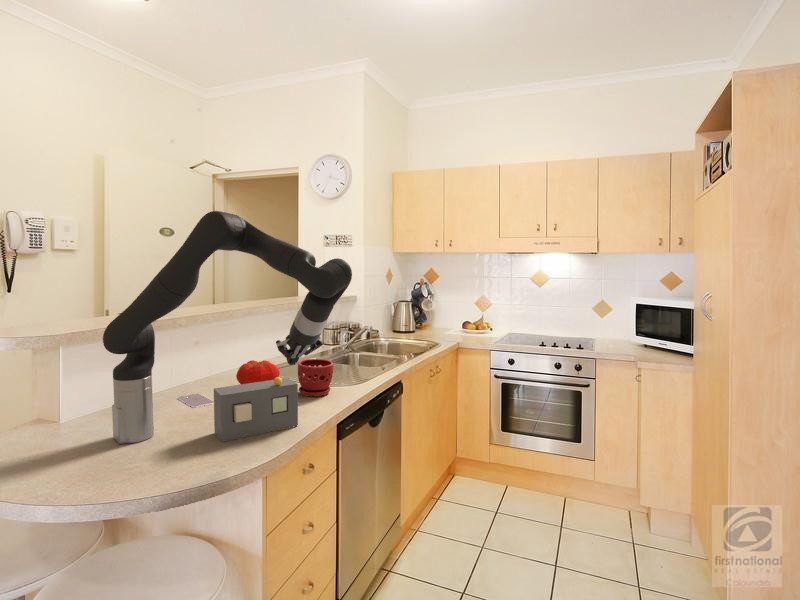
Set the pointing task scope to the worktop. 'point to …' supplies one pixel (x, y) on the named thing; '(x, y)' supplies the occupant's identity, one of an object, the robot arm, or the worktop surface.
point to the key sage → (279, 404)
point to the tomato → (257, 372)
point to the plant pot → (315, 376)
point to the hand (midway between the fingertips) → (290, 362)
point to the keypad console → (255, 408)
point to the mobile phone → (195, 400)
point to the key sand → (242, 412)
